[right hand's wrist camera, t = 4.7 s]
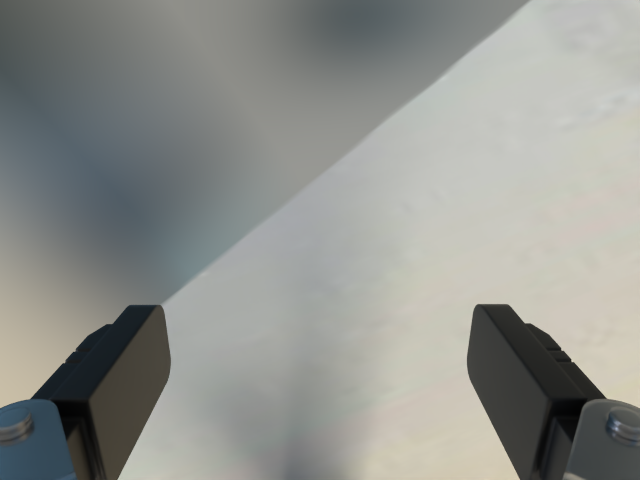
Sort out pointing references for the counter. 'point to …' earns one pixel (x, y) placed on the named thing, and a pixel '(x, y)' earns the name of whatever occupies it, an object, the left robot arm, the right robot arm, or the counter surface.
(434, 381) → the counter surface
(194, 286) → the counter surface
